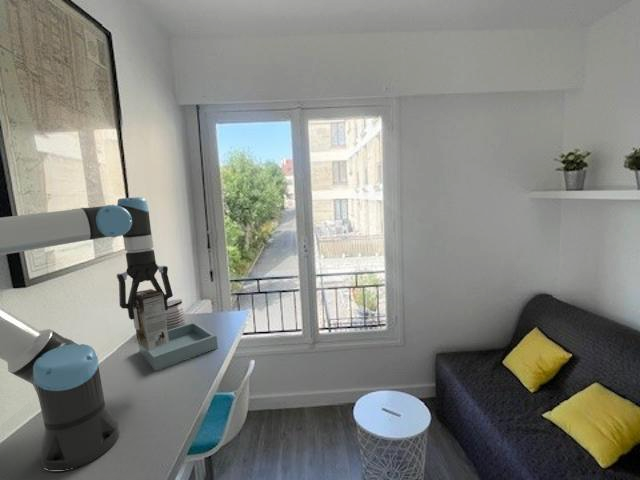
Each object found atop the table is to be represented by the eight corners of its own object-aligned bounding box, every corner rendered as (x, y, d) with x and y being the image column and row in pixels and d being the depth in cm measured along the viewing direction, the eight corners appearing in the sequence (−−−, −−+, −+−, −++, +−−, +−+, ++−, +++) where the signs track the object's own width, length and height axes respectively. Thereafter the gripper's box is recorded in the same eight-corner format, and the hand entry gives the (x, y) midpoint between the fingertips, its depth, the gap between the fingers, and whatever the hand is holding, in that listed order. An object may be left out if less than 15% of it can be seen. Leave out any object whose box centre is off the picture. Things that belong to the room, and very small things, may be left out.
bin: (155, 371, 116) (153, 357, 115) (139, 351, 133) (137, 339, 132) (217, 348, 130) (216, 335, 129) (196, 333, 147) (194, 321, 146)
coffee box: (136, 344, 106) (129, 293, 104) (158, 336, 111) (151, 288, 109) (148, 351, 100) (140, 297, 98) (170, 343, 105) (163, 292, 103)
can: (168, 334, 148) (164, 307, 146) (153, 330, 154) (149, 304, 152) (191, 324, 157) (187, 299, 156) (175, 321, 163) (172, 297, 162)
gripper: (170, 244, 111) (179, 313, 114) (98, 254, 98) (111, 331, 101) (178, 245, 105) (187, 318, 108) (102, 257, 93) (116, 338, 96)
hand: (150, 324), depth 105 cm, fingers closed on coffee box, 7 cm apart
